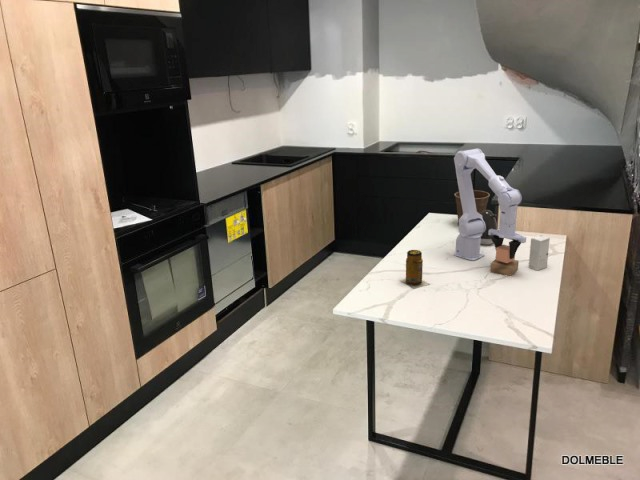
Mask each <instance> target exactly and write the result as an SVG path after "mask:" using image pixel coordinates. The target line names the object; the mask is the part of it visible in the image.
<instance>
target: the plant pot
mask: <svg viewBox="0 0 640 480" xmlns="http://www.w3.org/2000/svg"><path fill="white" fill-rule="evenodd" d="M473 192H474V198H475V204H476V210H477V212H478V213H479V214H480V213H481V212H482V211H484V210H487V206H488V202H489V197H490V196H491V195H490V193H489V192H487V191H484V190H475V189H473ZM454 197H455V203H456V212H457V214H456V215H457V226H458V227H459V219H460V218H461V216H462V215H463V210H462V204H461V199H460V193H459V191H456V192H455V193H454ZM472 220H473V219H472ZM469 221H471V220H469Z"/></svg>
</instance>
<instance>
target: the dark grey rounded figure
mask: <svg viewBox="0 0 640 480" xmlns="http://www.w3.org/2000/svg"><path fill="white" fill-rule="evenodd" d="M480 214H481V215H482V217H483V221H484V222H485V225H486V229H485V232H484V233H482V236H481V241H480V245H483V246H486V245H487V246H489V245H492V244H494V243H493V241H492V237H493V236H494V235H488V232H489V230H490V229H495V230H499V229H498V224H497V220H496V217H497V216H498V215H497V214H496V213H495V214H494V213H493V211H491V210H489V209H486V210H484V211H482V212H481V213H480Z"/></svg>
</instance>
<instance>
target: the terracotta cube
mask: <svg viewBox="0 0 640 480" xmlns="http://www.w3.org/2000/svg"><path fill="white" fill-rule="evenodd" d="M515 258H516V255H515V256H514V258H513V259H510V246H509V244H508V245H507V244H502V245H501V246H499V247H497V248H496V249H495V259H494V260H497V261H501V262H504V263H509V262H511V261H513V260H516V259H515Z"/></svg>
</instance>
